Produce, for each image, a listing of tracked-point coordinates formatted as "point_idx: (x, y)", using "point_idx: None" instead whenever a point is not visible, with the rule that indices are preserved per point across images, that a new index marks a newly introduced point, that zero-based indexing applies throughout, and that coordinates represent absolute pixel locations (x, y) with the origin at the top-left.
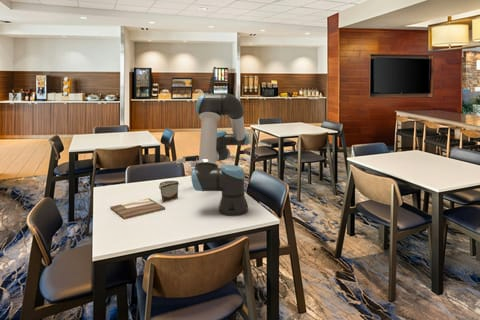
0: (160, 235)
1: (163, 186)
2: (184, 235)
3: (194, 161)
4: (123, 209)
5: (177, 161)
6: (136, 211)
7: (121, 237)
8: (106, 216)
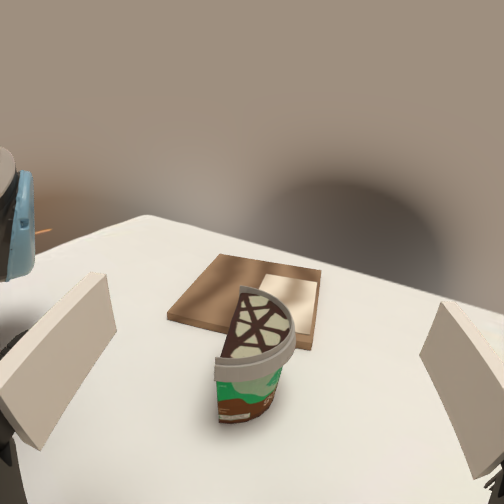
0: (91, 246)
1: (238, 300)
2: (49, 255)
3: (66, 311)
4: (269, 271)
5: (434, 336)
6: (223, 273)
7: (154, 232)
8: (272, 257)
